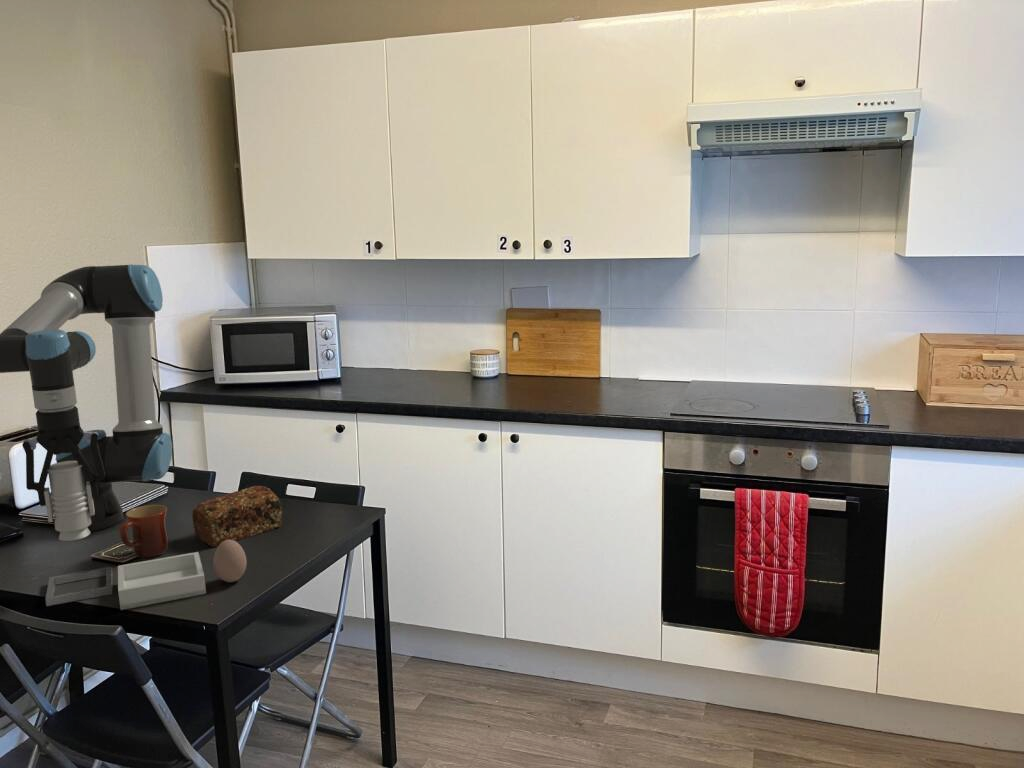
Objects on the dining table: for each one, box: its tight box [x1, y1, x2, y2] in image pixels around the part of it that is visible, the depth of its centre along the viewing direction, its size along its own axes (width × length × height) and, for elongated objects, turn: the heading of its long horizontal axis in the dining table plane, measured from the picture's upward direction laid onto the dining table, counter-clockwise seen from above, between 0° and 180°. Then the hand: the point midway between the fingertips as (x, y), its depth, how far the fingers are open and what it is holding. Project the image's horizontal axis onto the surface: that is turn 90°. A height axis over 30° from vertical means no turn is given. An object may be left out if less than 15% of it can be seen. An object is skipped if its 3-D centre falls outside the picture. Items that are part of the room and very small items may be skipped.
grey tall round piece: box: [47, 461, 91, 542], centre depth 177 cm, size 7×7×15 cm
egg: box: [212, 540, 248, 583], centre depth 181 cm, size 7×7×9 cm
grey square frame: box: [45, 566, 113, 607], centre depth 180 cm, size 12×12×2 cm
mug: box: [119, 504, 169, 559], centre depth 196 cm, size 12×9×10 cm
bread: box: [191, 485, 283, 548], centre depth 209 cm, size 19×11×10 cm, turn 134°
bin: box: [117, 551, 207, 611], centre depth 179 cm, size 14×16×4 cm
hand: (71, 516), depth 178 cm, fingers closed on grey tall round piece, 7 cm apart
